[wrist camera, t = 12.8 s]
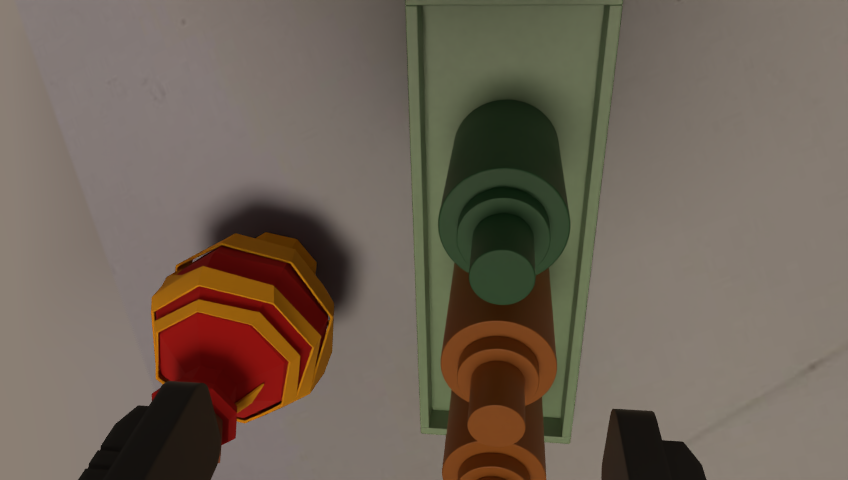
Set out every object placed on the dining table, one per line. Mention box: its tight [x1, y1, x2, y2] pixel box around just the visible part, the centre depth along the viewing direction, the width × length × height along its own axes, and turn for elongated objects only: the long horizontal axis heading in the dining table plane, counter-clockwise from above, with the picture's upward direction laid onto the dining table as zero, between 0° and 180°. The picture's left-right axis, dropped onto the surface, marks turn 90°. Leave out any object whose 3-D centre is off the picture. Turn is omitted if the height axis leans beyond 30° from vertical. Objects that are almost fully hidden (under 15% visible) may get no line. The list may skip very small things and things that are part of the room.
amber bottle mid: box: [440, 263, 557, 447], centre depth 36 cm, size 6×6×13 cm
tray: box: [405, 0, 623, 444], centre depth 40 cm, size 29×10×2 cm, turn 1°
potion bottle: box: [151, 232, 334, 463], centre depth 37 cm, size 10×10×15 cm
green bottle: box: [438, 99, 570, 305], centre depth 32 cm, size 6×6×13 cm
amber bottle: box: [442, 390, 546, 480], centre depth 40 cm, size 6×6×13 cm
